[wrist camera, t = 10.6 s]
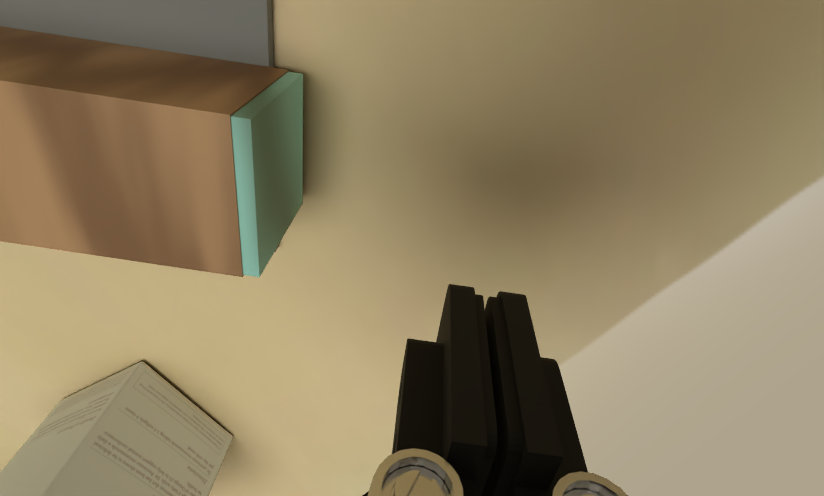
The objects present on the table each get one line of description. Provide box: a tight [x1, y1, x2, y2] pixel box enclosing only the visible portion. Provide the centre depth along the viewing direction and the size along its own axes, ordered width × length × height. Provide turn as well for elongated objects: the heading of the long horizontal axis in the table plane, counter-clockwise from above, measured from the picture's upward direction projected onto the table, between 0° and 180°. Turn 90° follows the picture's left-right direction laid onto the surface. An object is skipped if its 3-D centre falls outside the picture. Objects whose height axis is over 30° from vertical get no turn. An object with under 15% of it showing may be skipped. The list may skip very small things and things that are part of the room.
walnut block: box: [0, 26, 303, 277], centre depth 15 cm, size 5×5×11 cm
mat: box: [0, 0, 279, 252], centre depth 18 cm, size 14×10×1 cm
